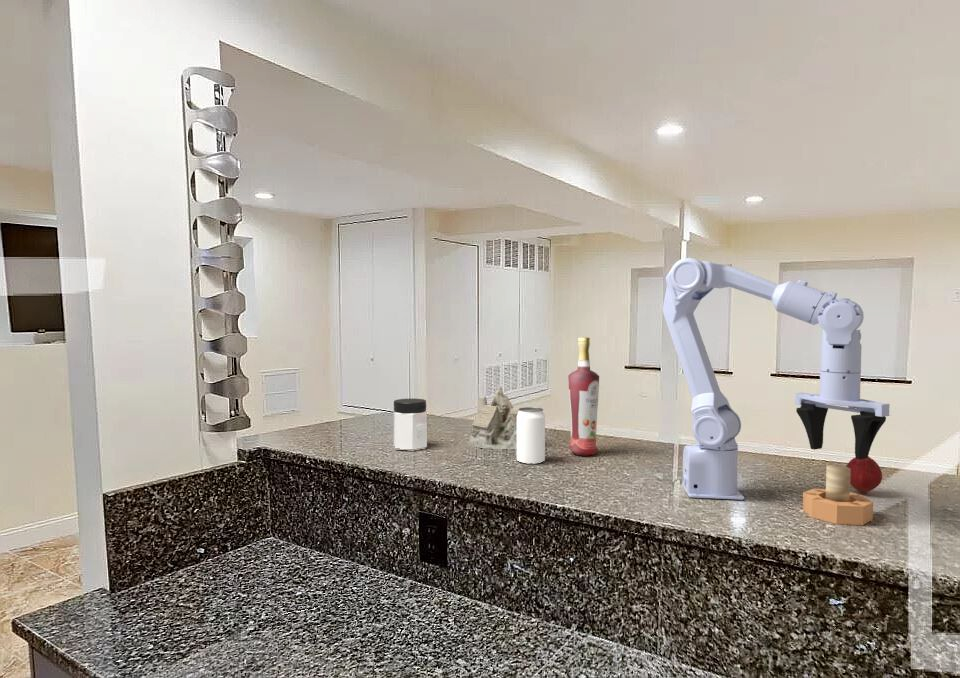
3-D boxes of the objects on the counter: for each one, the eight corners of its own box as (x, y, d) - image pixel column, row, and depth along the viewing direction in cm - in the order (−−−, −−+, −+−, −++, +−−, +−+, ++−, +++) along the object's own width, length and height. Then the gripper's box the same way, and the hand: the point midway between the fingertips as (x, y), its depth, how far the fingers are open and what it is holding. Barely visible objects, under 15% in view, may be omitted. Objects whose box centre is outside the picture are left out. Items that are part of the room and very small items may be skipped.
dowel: (830, 518, 96) (831, 469, 96) (821, 511, 100) (823, 464, 99) (852, 519, 96) (854, 470, 95) (843, 512, 99) (844, 465, 99)
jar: (405, 453, 142) (405, 404, 141) (386, 448, 148) (385, 400, 147) (434, 447, 148) (434, 400, 148) (414, 442, 154) (414, 397, 154)
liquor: (584, 459, 136) (585, 338, 135) (561, 453, 142) (562, 337, 141) (605, 454, 141) (606, 337, 140) (581, 449, 146) (582, 336, 145)
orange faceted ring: (818, 523, 94) (818, 504, 94) (796, 504, 103) (797, 487, 103) (881, 526, 93) (881, 507, 92) (853, 507, 102) (854, 490, 102)
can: (512, 463, 133) (512, 410, 132) (521, 456, 139) (521, 406, 138) (540, 466, 130) (540, 412, 130) (548, 459, 136) (548, 407, 136)
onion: (887, 499, 106) (888, 455, 106) (852, 497, 107) (853, 454, 107) (872, 490, 112) (874, 448, 112) (839, 488, 113) (840, 447, 113)
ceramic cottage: (459, 443, 153) (463, 386, 152) (507, 437, 163) (511, 384, 162) (497, 458, 140) (502, 396, 139) (546, 451, 151) (551, 393, 150)
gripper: (902, 374, 92) (899, 460, 93) (814, 367, 105) (812, 442, 106) (874, 376, 89) (872, 465, 90) (787, 368, 102) (786, 446, 103)
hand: (838, 453), depth 97 cm, fingers open, 7 cm apart
